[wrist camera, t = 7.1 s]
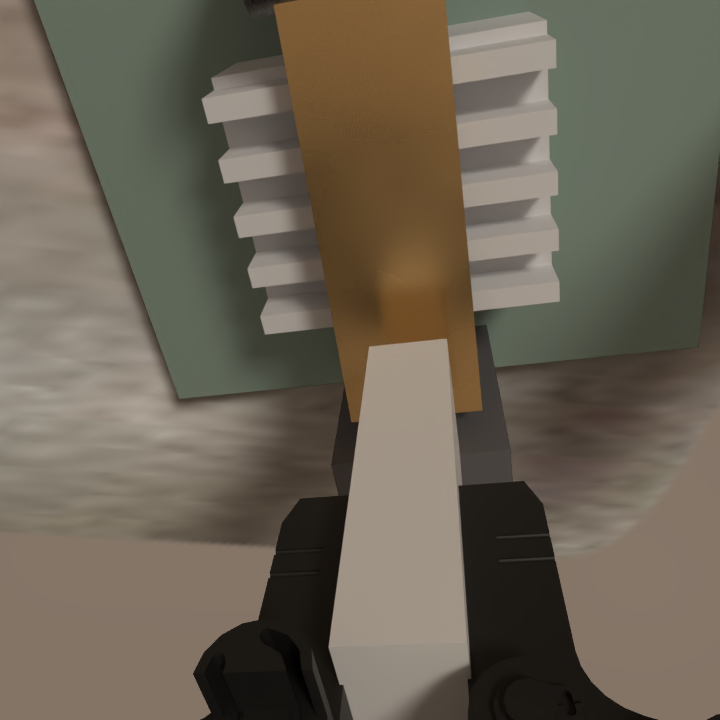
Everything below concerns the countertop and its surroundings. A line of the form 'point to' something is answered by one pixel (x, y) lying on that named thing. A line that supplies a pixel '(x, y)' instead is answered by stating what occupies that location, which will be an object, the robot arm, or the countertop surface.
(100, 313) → the countertop surface
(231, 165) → the clamp base
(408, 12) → the strap
